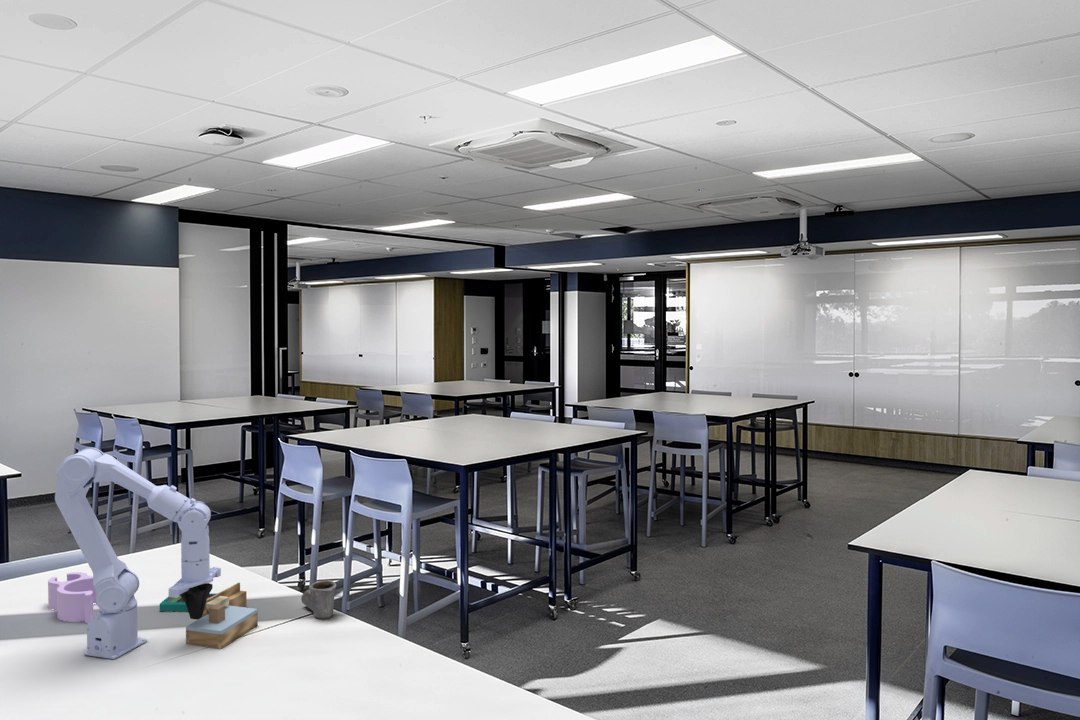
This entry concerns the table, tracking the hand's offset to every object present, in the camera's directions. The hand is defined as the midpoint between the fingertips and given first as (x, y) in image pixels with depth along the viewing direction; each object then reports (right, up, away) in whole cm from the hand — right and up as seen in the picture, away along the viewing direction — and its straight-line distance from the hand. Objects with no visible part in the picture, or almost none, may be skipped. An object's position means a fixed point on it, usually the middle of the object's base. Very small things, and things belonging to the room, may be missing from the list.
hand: (196, 617), depth 165 cm
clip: (-36, -4, +17) cm, 40 cm away
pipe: (+23, -5, +16) cm, 28 cm away
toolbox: (+5, -5, +8) cm, 10 cm away
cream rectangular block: (+2, 0, +7) cm, 8 cm away
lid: (+5, -3, +3) cm, 6 cm away
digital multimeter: (-10, -5, +20) cm, 22 cm away
